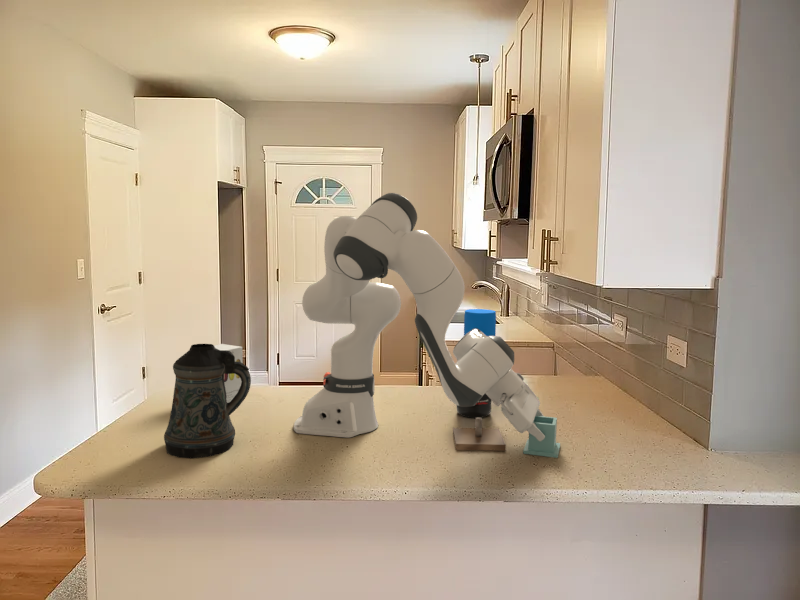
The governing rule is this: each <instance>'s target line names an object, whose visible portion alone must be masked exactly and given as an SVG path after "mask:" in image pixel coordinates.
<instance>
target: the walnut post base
mask: <svg viewBox="0 0 800 600" xmlns="http://www.w3.org/2000/svg"><path fill="white" fill-rule="evenodd" d="M474 426H475V427H452V435H453V436H452V437H453V440H454V447H455V451H497V452H499V451H501V452H505V451H506V450H507V449H506V447H507V445H506V442H505V439H504V437H503V434H502V432H501V429H500V428H497V427H495V428H494V427H493V428H492V427H483V417H481V418H479V417H477V418H475V425H474ZM506 452H507V451H506Z"/></svg>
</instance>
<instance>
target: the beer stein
mask: <svg viewBox="0 0 800 600" xmlns="http://www.w3.org/2000/svg"><path fill="white" fill-rule="evenodd" d="M214 346H215V344H212V343H196V344H192V345H191V346H190V348H189V349H188V350H187V352H185V353H184V354H183V355H181V356H180V357H179V358H177V359H176V361H174V363H173V365H172V370H173V374H174V375H175V382H174V388H173V396H172V397H173V399H172V403H171V404H172V405H171V411H170V415H169V416H170V417H169V420H168V422H167V423H168V424H167V427H166V430H165V432H164V434H163V440H164V444H165V449H166V454H168V455H169V456H173V457H175V458H180V459H181V458H182V459H199V458H210V457H213V456H217V455H221V454H223V453H225V452H228V451H229V450H230V449H231V448H232V447H233V446H234V442H235V441H234V440H235V438H236V437H235V435H236V429H235V427H234V425H233V423H232V420H231V416H230V415H231V414H233V413H234V412H235V411H236V410H237V409H238V408H239V407H240V406H241V404H242V403H243V402H244V401H245V399H246V397H247V396H248V394H249V392H250V389H251V383H252V378H251V377H252V376H251V373H250V370H249V369H250V368H249V367H248V366H247V365H245V364H244V363H241V362H239V361H237V362H235V356H234V355H233V354H232V353H231V351H228V350H218V349H216V348H215V347H214ZM224 373H225V374H237V375H238V376H239V377H240V378H241V381H242V382H241V386H240V388H239V391H238V393H237V394H236V395H235V397H234V398H233V399H232V400H231V401H230V402H229V403H227V400H226V398H227V397H226V389H225V383H224Z"/></svg>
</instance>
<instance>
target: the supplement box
mask: <svg viewBox="0 0 800 600" xmlns="http://www.w3.org/2000/svg"><path fill="white" fill-rule="evenodd" d="M214 347H215V348H216V349H218V350H228V351H231V353H232V354H233V355H234V356H235V362H237V361H239V362H241V363H243V362H244V361H243V360H244V359H243V346H241V345H240V346H239V345H232V344H225V343H219V344H214ZM243 364H244V363H243ZM241 382H242V381H241V378H240V377H239V376H238V375H237V374H225V373H224V383H225V389H226V397H227V398H226V400H227V403H229V402H230V401H231V400H232V399H233V398H234V397H235V395H236V394H237V393H238V391H239V388H240V386H241Z"/></svg>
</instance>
